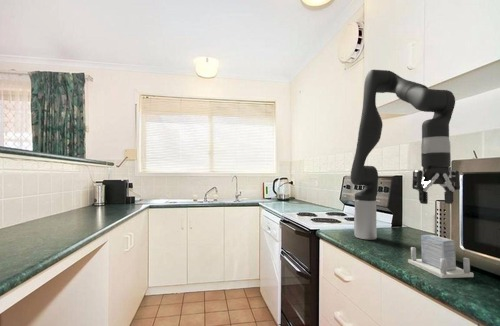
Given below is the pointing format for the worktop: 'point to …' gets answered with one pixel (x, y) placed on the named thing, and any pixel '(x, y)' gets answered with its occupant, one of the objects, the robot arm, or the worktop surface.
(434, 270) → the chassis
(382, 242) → the worktop surface
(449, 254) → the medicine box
